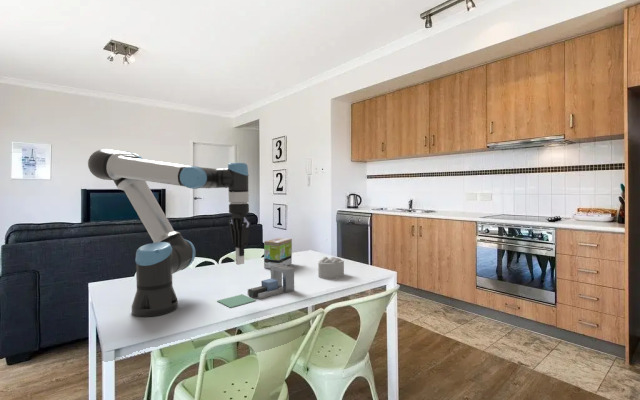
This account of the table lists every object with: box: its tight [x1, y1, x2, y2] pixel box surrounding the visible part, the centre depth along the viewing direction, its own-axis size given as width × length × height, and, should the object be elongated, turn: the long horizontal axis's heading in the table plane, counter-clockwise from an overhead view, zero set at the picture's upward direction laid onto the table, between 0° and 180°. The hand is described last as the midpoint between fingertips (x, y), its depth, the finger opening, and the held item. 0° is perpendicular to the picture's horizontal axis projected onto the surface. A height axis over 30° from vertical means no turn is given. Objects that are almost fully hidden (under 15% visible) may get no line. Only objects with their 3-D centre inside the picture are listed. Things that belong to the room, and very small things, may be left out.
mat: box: [217, 294, 257, 309], centre depth 132 cm, size 11×10×1 cm
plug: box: [248, 277, 279, 299], centre depth 141 cm, size 12×4×5 cm, turn 134°
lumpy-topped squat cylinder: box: [317, 256, 345, 280], centre depth 169 cm, size 10×13×9 cm
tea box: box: [263, 237, 293, 270], centre depth 189 cm, size 15×10×15 cm, turn 160°
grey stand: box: [247, 264, 295, 300], centre depth 143 cm, size 17×10×10 cm, turn 134°
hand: (240, 263), depth 133 cm, fingers closed
